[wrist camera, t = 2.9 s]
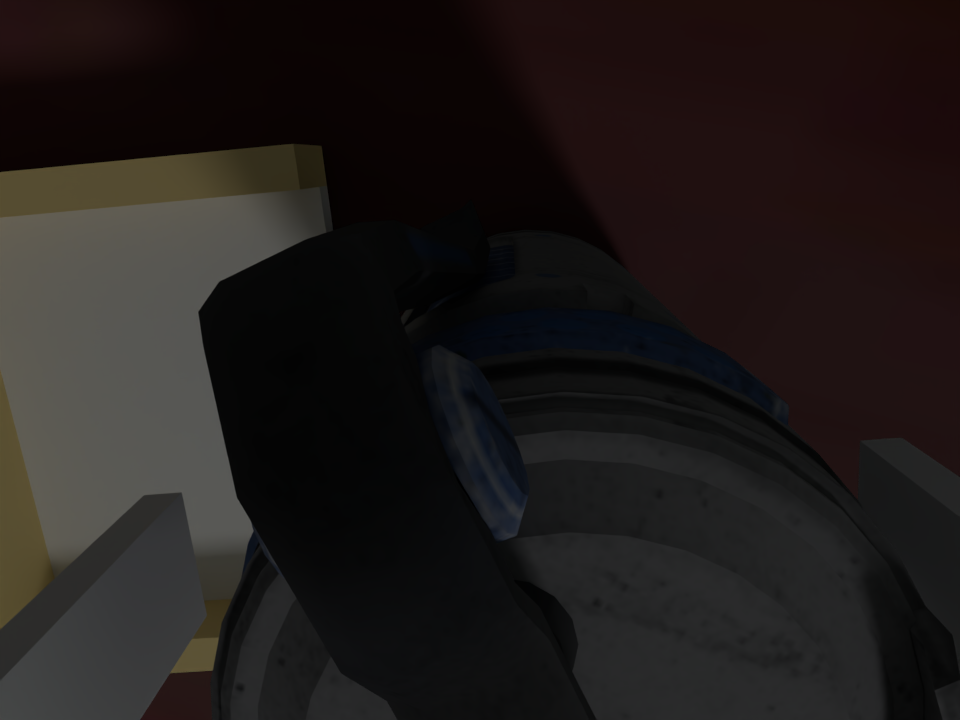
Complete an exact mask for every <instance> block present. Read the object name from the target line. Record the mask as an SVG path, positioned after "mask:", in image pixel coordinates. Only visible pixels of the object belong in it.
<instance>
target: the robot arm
mask: <svg viewBox="0 0 960 720" xmlns="http://www.w3.org/2000/svg"><path fill="white" fill-rule="evenodd" d="M858 501H859V502H860V504H861V506H862V508H863V510H864V512H865V513H866V514H867V515H868V516H869V517H870V519H871V520H872V521H873V522H874V523H875V525H876V526H877V527H878V528H879V529H880V530H881V532H882V533H883V534H884V535H885V536H886V538H887V539H888V540H889V541H890V542H891V543H892V545H893V546H894V547H895V548H896V550H897V552H898V554H899V556H900V558H901V559H902V561H903V563H904V565H905V567H906V569H907V571H908V573H909V575H910V577H911V579H912V581H913V583H914V585H915V586H916V588H917V590H918V592H919V594H920V596H921V598H922V600H923V602H924V604H925V606H926V607H927V608H928V609H929V610H930V611H931V612H932V614H933V615H934V616H935V617H936V618H937V619H938V620H939V621H940V622H941V623H942V624H943V625H944V626H945V627H946V629H947V630H948V631H949V632H950V633H951V634H952V635H953V639H954V643H955V647H956V651H957V655H958V659H959V663H960V477H959V476H957V475H956V474H954V473H953V472H951V471H950V470H948V469H947V468H945V467H944V466H942V465H941V464H939V463H938V462H937V461H935V460H934V459H932V458H931V457H929V456H928V455H926V454H925V453H923V452H922V451H920V450H919V449H917V448H916V447H914V446H913V445H911V444H910V443H909V442H907V441H906V440H904V439H903V438H891V439H878V440H865V441H860V460H859V488H858ZM206 616H207V613H206V608H205V603H204V599H203V594H202V589H201V584H200V579H199V574H198V569H197V564H196V559H195V554H194V549H193V545H192V540H191V535H190V530H189V525H188V520H187V515H186V510H185V505H184V500H183V496H182V492H179V493H166V494H153V495H144V496H142V497H141V498H140V499H139V500H138V501H137V502H136V503H135V504H134V505H133V506H132V507H131V508H130V509H129V510H128V511H126V512H125V513H124V514H123V515H122V516H121V517H120V518H119V519H118V520H117V521H116V522H115V523H114V524H113V525H111V526H110V527H109V528H108V529H107V530H106V531H105V532H104V533H103V534H102V535H101V536H100V537H99V538H98V539H96V540H95V541H94V542H93V543H92V544H91V545H90V546H89V547H88V548H87V549H86V550H85V551H84V552H83V553H82V554H80V555H79V556H78V557H77V558H76V559H75V560H74V561H73V562H72V563H71V564H70V565H69V566H68V567H67V568H65V569H64V570H63V571H62V572H61V573H60V574H59V575H58V576H57V577H56V578H55V579H54V580H53V581H52V582H51V583H49V584H48V585H47V586H46V587H45V588H44V589H43V590H42V591H41V592H40V593H39V594H38V595H37V596H36V597H34V598H33V599H32V600H31V601H30V602H29V603H28V604H27V605H26V606H25V607H24V608H23V609H22V610H21V611H20V612H18V613H17V614H16V615H15V616H14V617H13V618H12V619H11V620H10V621H9V622H8V623H7V624H6V625H5V626H3V627H2V628H1V629H0V720H140V719H141V717H142V716H143V714H144V713H145V711H146V709H147V708H148V706H149V705H150V703H151V702H152V700H153V699H154V697H155V695H156V694H157V692H158V691H159V689H160V688H161V686H162V685H163V683H164V682H165V680H166V678H167V677H168V675H169V674H170V672H171V671H172V669H173V668H174V666H175V664H176V663H177V661H178V660H179V658H180V657H181V655H182V654H183V652H184V651H185V649H186V647H187V646H188V644H189V643H190V641H191V640H192V638H193V637H194V635H195V633H196V632H197V630H198V629H199V627H200V626H201V624H202V623H203V621H204V619H205V618H206Z"/></svg>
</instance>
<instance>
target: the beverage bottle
mask: <svg viewBox="0 0 960 720" xmlns="http://www.w3.org/2000/svg"><path fill="white" fill-rule="evenodd" d="M405 310H406V311H405ZM400 311H405V313H404V314H403V316H402V317H400V314H399V312H400ZM198 314H199V321H200V328H201V335H202V342H203V348H204V352H205V357H206V361H207V366H208V370H209V375H210V379H211V384H212V388H213V393H214V397H215V402H216V406H217V411H218V415H219V420H220V424H221V429H222V433H223V438H224V442H225V447H226V451H227V456H228V460H229V465H230V469H231V474H232V478H233V483H234V487H235V492H236V496H237V499H238V500H239V502H240V504H241V505H242V507H243V509H244V511H245V512H246V514H247V516H248V517H249V519H250V521H251V524H252V528H253V530H254V531H253V533H252V535H251V538H250V540H249V542H248V546H247V551H246V556H245V561H244V567H243V572H242V577H241V580H240V582H239V584H238V587H237V589H236V591H235V594H234V596H233V598H232V600H231V603H230V605H229V607H228V609H227V612H226V614H225V616H224V619H223V621H222V624H221V629H220V634H219V640H218V645H217V650H216V656H215V661H214V667H213V672H212V677H211V704H212V720H960V663H959V659H958V655H957V651H956V647H955V643H954V639H953V635H952V634H951V633H950V632H949V631H948V630H947V629H946V627H945V626H944V625H943V624H942V623H941V622H940V621H939V620H938V619H937V618H936V617H935V616H934V615H933V614H932V612H931V611H930V610H929V609H928V608H927V607H926V606H925V604H924V602H923V600H922V598H921V596H920V594H919V592H918V590H917V588H916V586H915V585H914V583H913V581H912V579H911V577H910V575H909V573H908V571H907V569H906V567H905V565H904V563H903V561H902V559H901V558H900V556H899V554H898V552H897V550H896V548H895V547H894V546H893V545H892V543H891V542H890V541H889V540H888V539H887V538H886V536H885V535H884V534H883V533H882V532H881V530H880V529H879V528H878V527H877V526H876V525H875V523H874V522H873V521H872V520H871V519H870V517H869V516H868V515H867V514H866V513H865V512H864V510H863V508H862V506H861V504H860V502H859V501H858V500H857V499H856V498H855V497H854V495H853V494H852V493H851V492H850V491H849V489H848V488H847V487H846V486H845V485H844V484H843V482H842V481H841V480H840V479H839V478H838V476H837V475H836V474H835V473H834V472H833V471H832V469H831V468H830V467H829V466H828V465H827V463H826V462H825V461H824V460H823V459H822V458H821V456H820V455H819V454H818V453H817V452H816V451H815V450H814V449H813V448H812V447H811V446H810V445H809V444H808V443H806V442H805V441H804V440H803V439H802V438H801V437H800V436H799V435H798V434H797V433H796V432H795V431H794V430H793V429H792V428H791V427H790V426H789V425H788V412H789V406H788V404H787V403H786V402H784V401H783V400H782V399H781V398H780V397H779V396H778V395H777V394H775V393H774V392H773V391H772V390H771V389H770V388H769V387H767V386H766V385H765V384H764V383H763V382H761V381H760V380H759V379H758V378H757V377H755V376H754V375H753V374H752V373H750V372H749V371H748V370H747V369H745V368H744V367H743V366H741V365H740V364H739V363H737V362H736V361H735V360H734V359H732V358H731V357H730V356H728V355H727V354H726V353H724V352H722V351H720V350H718V349H716V348H714V347H712V346H710V345H708V344H706V343H704V342H702V341H701V340H700V339H698V338H697V337H696V336H695V335H694V334H693V333H692V332H691V331H690V330H689V329H688V328H687V327H686V326H685V325H684V324H683V323H682V322H681V321H680V320H678V319H677V318H676V317H675V316H674V315H673V314H672V313H671V312H670V311H669V310H668V309H667V308H666V307H665V306H664V305H663V304H662V303H661V302H660V301H659V300H657V299H656V298H655V297H654V296H653V295H652V294H651V293H650V292H649V291H648V290H647V289H646V288H645V287H644V286H643V285H642V284H641V283H640V282H639V281H637V280H636V279H635V278H634V277H633V276H632V275H631V274H630V273H629V272H628V271H627V270H626V269H625V268H624V267H623V266H622V265H621V264H619V263H618V262H617V261H615V260H614V259H613V258H611V257H610V256H609V255H608V254H606V253H605V252H604V251H602V250H601V249H599V248H597V247H595V246H593V245H591V244H589V243H587V242H585V241H583V240H581V239H579V238H576V237H572V236H568V235H564V234H560V233H557V232H553V231H539V230H520V231H513V232H506V233H499V234H496V235H493V236H490V237H487V238H486V235H485V233H484V230H483V227H482V225H481V222H480V220H479V217H478V215H477V212H476V210H475V207H474V205H473V203H472V200H470V201H469V202H468V203H467V204H466V205H465V206H463V207H462V208H461V209H459V210H457V211H455V212H453V213H451V214H449V215H447V216H445V217H443V218H441V219H439V220H436V221H434V222H432V223H430V224H428V225H426V226H424V227H422V228H421V230H419V229H417V228H414V227H412V226H409V225H406V224H404V223H401V222H399V221H396V220H388V221H373V222H358V223H354V224H351V225H348V226H345V227H342V228H339V229H336V230H333V231H330V232H327V233H324V234H320V235H317V236H314V237H311V238H308V239H305V240H303V241H301V242H299V243H297V244H295V245H293V246H291V247H289V248H287V249H285V250H283V251H281V252H279V253H277V254H275V255H273V256H271V257H269V258H266V259H264V260H262V261H260V262H258V263H256V264H254V265H252V266H250V267H248V268H246V269H244V270H242V271H240V272H238V273H236V274H234V275H232V276H230V277H228V278H225V279H223V280H221V281H219V283H218V284H217V285H216V287H215V288H214V290H213V291H212V293H211V294H210V295H209V297H208V298H207V300H206V301H205V303H204V304H203V306H202V307H201V308H200V310H199V311H198Z"/></svg>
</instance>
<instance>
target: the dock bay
mask: <svg viewBox="0 0 960 720" xmlns="http://www.w3.org/2000/svg"><path fill="white" fill-rule="evenodd" d="M330 231H333V226H332V218H331V211H330V204H329V197H328V190H327V182H326V175H325V168H324V161H323V153H322V146H316V145H303V144H286V145H276V146H265V147H255V148H245V149H234V150H224V151H214V152H203V153H193V154H183V155H172V156H162V157H152V158H141V159H131V160H121V161H110V162H100V163H90V164H79V165H69V166H59V167H48V168H38V169H28V170H17V171H7V172H0V629H1V628H2V627H3V626H5V625H6V624H7V623H8V622H9V621H10V620H11V619H12V618H13V617H14V616H15V615H16V614H17V613H18V612H20V611H21V610H22V609H23V608H24V607H25V606H26V605H27V604H28V603H29V602H30V601H31V600H32V599H33V598H34V597H36V596H37V595H38V594H39V593H40V592H41V591H42V590H43V589H44V588H45V587H46V586H47V585H48V584H49V583H51V582H52V581H53V580H54V579H55V578H56V577H57V576H58V575H59V574H60V573H61V572H62V571H63V570H64V569H65V568H67V567H68V566H69V565H70V564H71V563H72V562H73V561H74V560H75V559H76V558H77V557H78V556H79V555H80V554H82V553H83V552H84V551H85V550H86V549H87V548H88V547H89V546H90V545H91V544H92V543H93V542H94V541H95V540H96V539H98V538H99V537H100V536H101V535H102V534H103V533H104V532H105V531H106V530H107V529H108V528H109V527H110V526H111V525H113V524H114V523H115V522H116V521H117V520H118V519H119V518H120V517H121V516H122V515H123V514H124V513H125V512H126V511H128V510H129V509H130V508H131V507H132V506H133V505H134V504H135V503H136V502H137V501H138V500H139V499H140V498H141V497H142V496H144V495H153V494H166V493H179V492H182V496H183V500H184V505H185V510H186V515H187V520H188V525H189V530H190V535H191V540H192V545H193V549H194V554H195V559H196V564H197V569H198V574H199V579H200V584H201V589H202V594H203V599H204V603H205V608H206V613H207V616H206V618H205V619H204V621H203V623H202V624H201V626H200V627H199V629H198V630H197V632H196V633H195V635H194V637H193V638H192V640H191V641H190V643H189V644H188V646H187V647H186V649H185V651H184V652H183V654H182V655H181V657H180V658H179V660H178V661H177V663H176V664H175V666H174V668H173V669H172V671H171V672H170V673H178V672H195V671H212V670H213V667H214V661H215V656H216V650H217V645H218V640H219V634H220V629H221V624H222V621H223V619H224V616H225V614H226V612H227V609H228V607H229V605H230V603H231V600H232V598H233V596H234V594H235V591H236V589H237V587H238V584H239V582H240V580H241V577H242V572H243V567H244V561H245V556H246V551H247V546H248V542H249V540H250V538H251V535H252V533H253V531H254V530H253V528H252V524H251V521H250V519H249V517H248V516H247V514H246V512H245V511H244V509H243V507H242V505H241V504H240V502H239V500H238V499H237V496H236V492H235V487H234V483H233V478H232V474H231V469H230V465H229V460H228V456H227V451H226V447H225V442H224V438H223V433H222V429H221V424H220V420H219V415H218V411H217V406H216V402H215V397H214V393H213V388H212V384H211V379H210V375H209V370H208V366H207V361H206V357H205V352H204V348H203V342H202V335H201V328H200V321H199V314H198V311H199V310H200V308H201V307H202V306H203V304H204V303H205V301H206V300H207V298H208V297H209V295H210V294H211V293H212V291H213V290H214V288H215V287H216V285H217V284H218V283H219V281H221V280H223V279H225V278H228V277H230V276H232V275H234V274H236V273H238V272H240V271H242V270H244V269H246V268H248V267H250V266H252V265H254V264H256V263H258V262H260V261H262V260H264V259H266V258H269V257H271V256H273V255H275V254H277V253H279V252H281V251H283V250H285V249H287V248H289V247H291V246H293V245H295V244H297V243H299V242H301V241H303V240H305V239H308V238H311V237H314V236H317V235H320V234H324V233H327V232H330Z"/></svg>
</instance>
